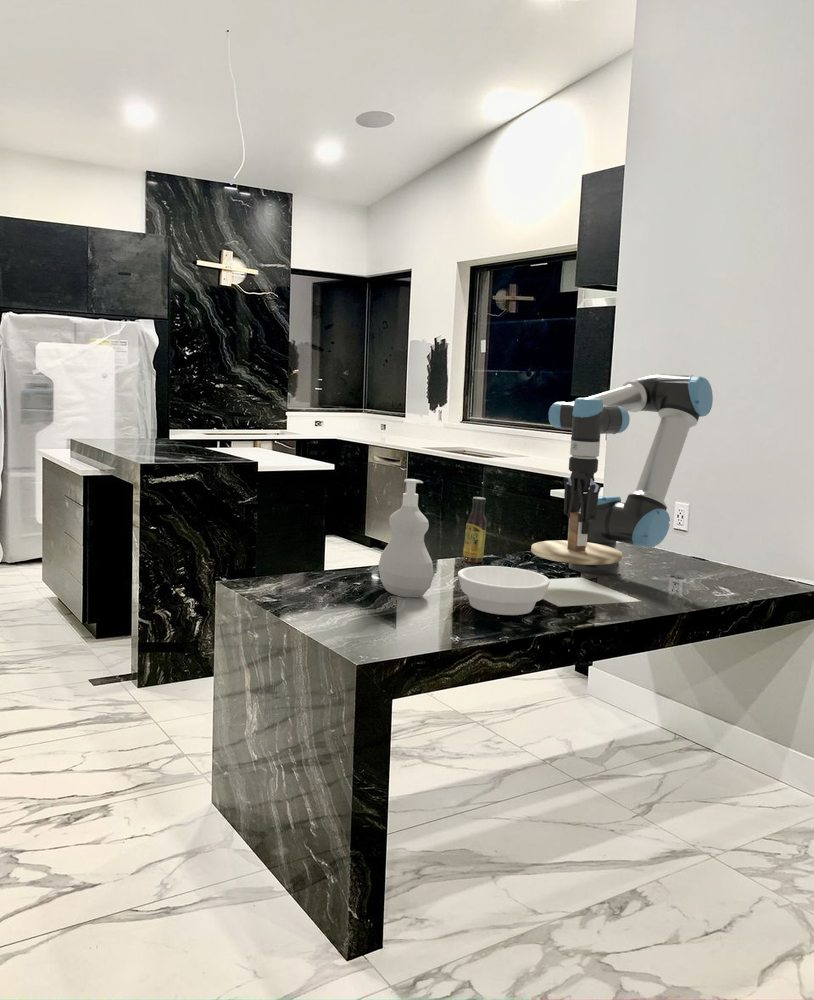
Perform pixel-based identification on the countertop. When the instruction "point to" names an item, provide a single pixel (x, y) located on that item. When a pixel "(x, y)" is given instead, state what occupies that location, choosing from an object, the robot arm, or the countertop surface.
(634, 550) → the countertop surface
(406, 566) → the soap bottle
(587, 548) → the lid
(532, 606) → the bowl
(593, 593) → the mat
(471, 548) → the sauce bottle
